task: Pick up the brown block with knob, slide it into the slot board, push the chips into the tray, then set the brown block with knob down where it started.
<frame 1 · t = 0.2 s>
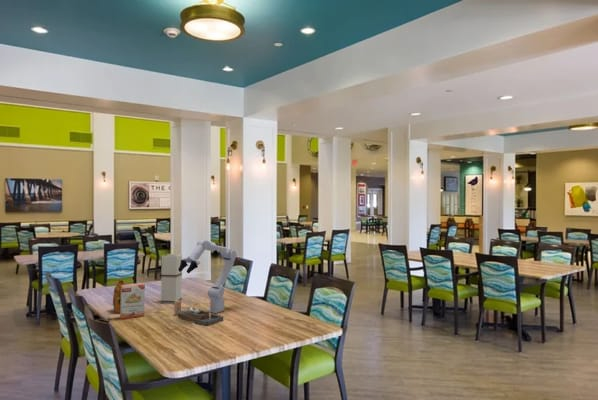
hand: (183, 271, 257), 31 cm above the table, tool tilted 45°, fingers open, 7 cm apart
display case: (171, 302, 306), on the table
slot board: (193, 318, 263), on the table
tray: (209, 321, 256), on the table
chip a: (191, 310, 265), point 5 cm above the table, touching slot board
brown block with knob: (177, 314, 272), on the table
chip b: (196, 311, 262), point 5 cm above the table, touching slot board
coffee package: (121, 311, 279), on the table
cracker box: (132, 317, 266), on the table
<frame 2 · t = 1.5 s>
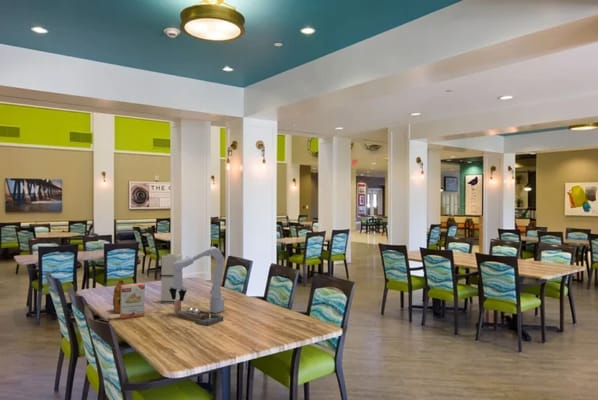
hand: (177, 300, 272), 10 cm above the table, tool pointing down, fingers open, 7 cm apart
nothing on the table moved.
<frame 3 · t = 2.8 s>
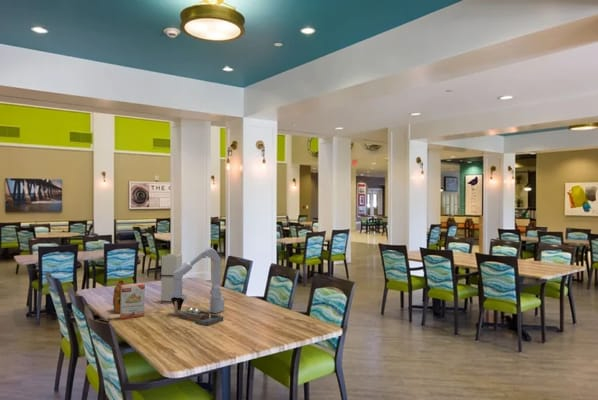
hand: (177, 308, 272), 4 cm above the table, tool pointing down, fingers closed on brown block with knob, 3 cm apart
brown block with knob: (177, 314, 272), on the table, touching gripper
everything else where it was.
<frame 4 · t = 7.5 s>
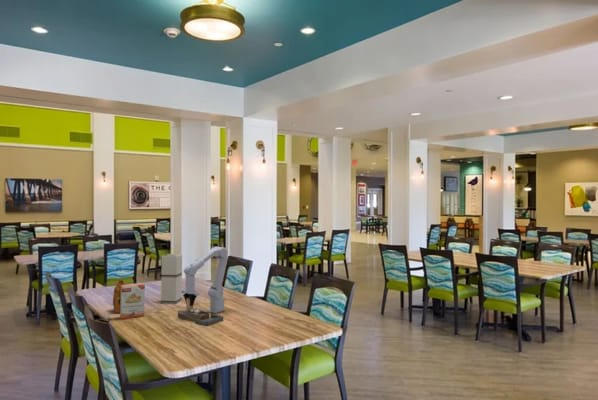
hand: (189, 305, 265), 8 cm above the table, tool pointing down, fingers closed on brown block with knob, 3 cm apart
chip a: (193, 311, 263), point 5 cm above the table, tilted 73°, touching slot board
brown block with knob: (189, 312, 265), point 3 cm above the table, touching gripper
chip b: (197, 311, 262), point 5 cm above the table, tilted 14°, touching slot board
everything else where it was.
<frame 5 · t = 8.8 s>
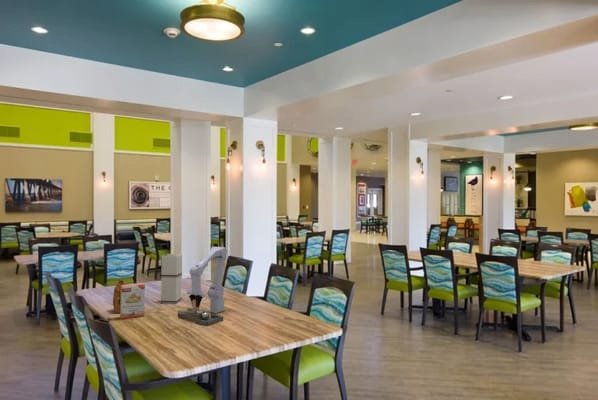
hand: (195, 306, 262), 8 cm above the table, tool pointing down, fingers closed on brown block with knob, 3 cm apart
chip a: (199, 312, 260), point 5 cm above the table, tilted 83°, touching slot board
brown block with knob: (195, 313, 262), point 3 cm above the table, touching gripper
chip b: (205, 315, 258), point 4 cm above the table, tilted 80°
everything else where it was.
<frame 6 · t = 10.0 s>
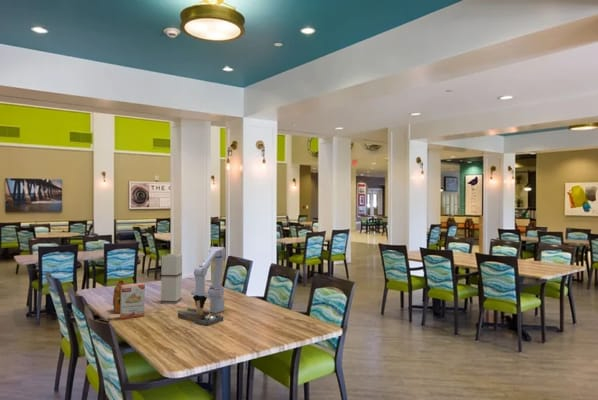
hand: (199, 307, 260), 8 cm above the table, tool pointing down, fingers closed on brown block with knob, 3 cm apart
chip a: (208, 318, 256), point 2 cm above the table, tilted 160°, touching tray
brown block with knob: (199, 314, 260), point 3 cm above the table, touching gripper
chip b: (212, 318, 254), point 2 cm above the table, tilted 153°, touching tray
everything else where it was.
when the fingers open (4 cm above the table, at t = 16.2 s): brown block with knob stays where it is, on the table.
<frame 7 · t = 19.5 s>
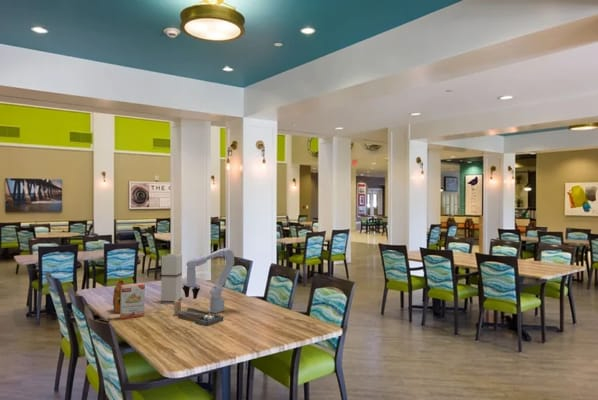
hand: (191, 297, 275), 10 cm above the table, tool pointing down, fingers open, 7 cm apart
chip a: (206, 317, 257), point 2 cm above the table, tilted 146°, touching tray
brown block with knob: (177, 314, 271), on the table
chip b: (210, 318, 255), point 2 cm above the table, tilted 104°, touching tray
everything else where it was.
at the end: chip a inside the target area (2.6 cm from its centre), point 2.2 cm above the table; chip b inside the target area (1.2 cm from its centre), point 2.2 cm above the table; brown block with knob inside the target area (0.3 cm from its centre), on the table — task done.
